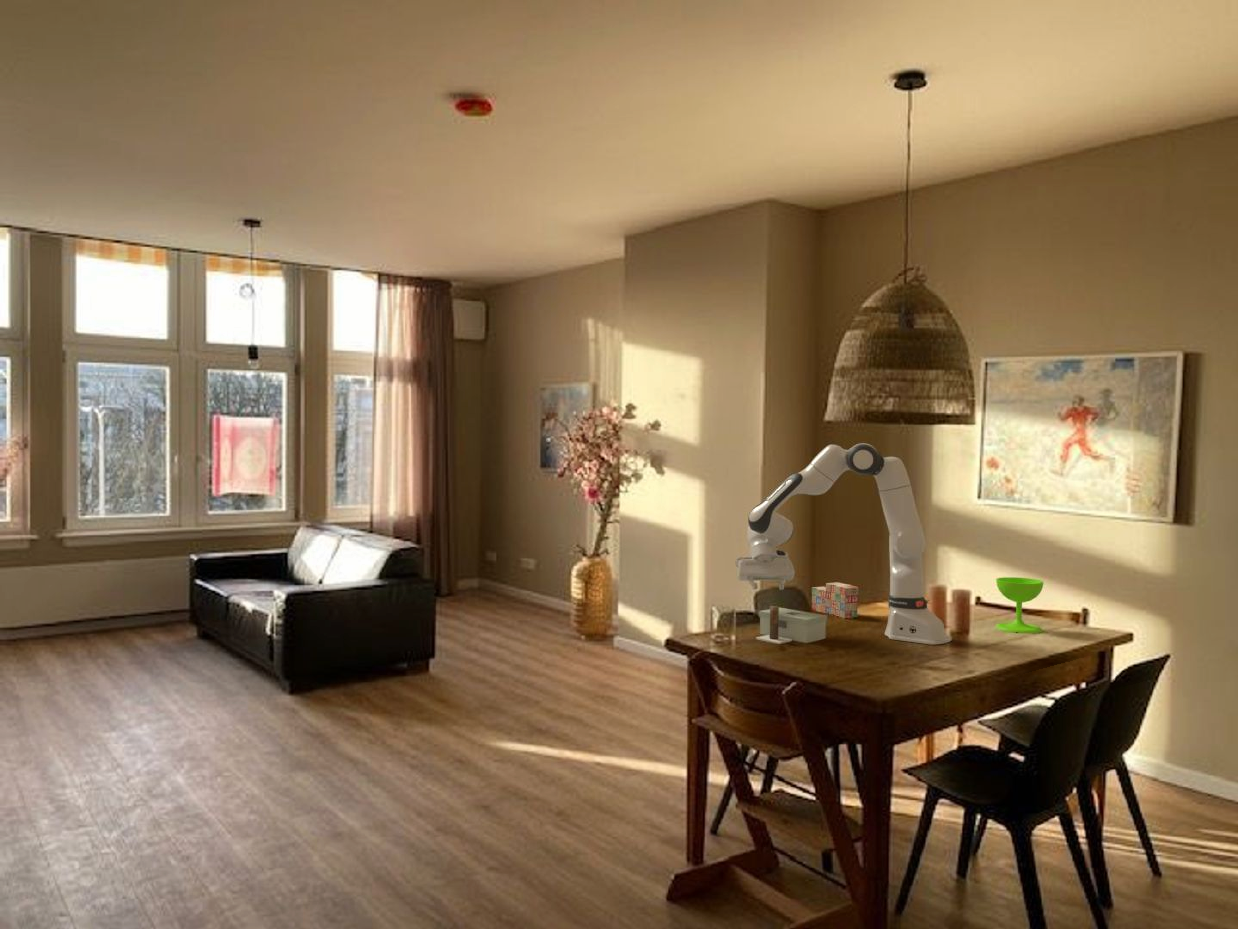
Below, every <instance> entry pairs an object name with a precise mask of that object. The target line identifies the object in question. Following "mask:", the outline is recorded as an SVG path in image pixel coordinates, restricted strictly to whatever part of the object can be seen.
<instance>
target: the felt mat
mask: <svg viewBox="0 0 1238 929" xmlns="http://www.w3.org/2000/svg"><path fill="white" fill-rule="evenodd" d="M755 640H758V641H762V642H767V643H772V644H776V645H777V644H778V645H781V644H786V643H791V642H792V641H793V640H792V639H787V638H782V637H778V639H770V635H761V636H757V637H755Z"/></svg>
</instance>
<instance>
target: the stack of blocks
mask: <svg viewBox="0 0 1238 929" xmlns="http://www.w3.org/2000/svg"><path fill="white" fill-rule="evenodd" d="M858 597H859V587H858V586H855V585H851V584H849V583H848V584H847V583H842V582H836V581H835V582H827V583H825V586H816V587H815V586H814V587H811V610H813V611H816V612H820V613H823V614H826V613H829V614H828V615H830V614H834V615H835V616H834V617H837V616H839V617H838V618H840V617H842V618H841V619H844V618H848V619H852V618H851V617H857V618H858V602H859V601H858V600H859V599H858Z"/></svg>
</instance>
